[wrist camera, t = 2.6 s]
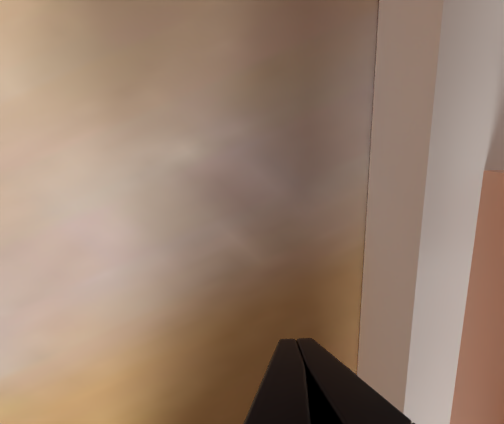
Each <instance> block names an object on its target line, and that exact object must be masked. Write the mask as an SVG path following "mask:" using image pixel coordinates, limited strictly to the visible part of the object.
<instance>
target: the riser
mask: <svg viewBox="0 0 504 424" xmlns="http://www.w3.org/2000/svg"><path fill="white" fill-rule="evenodd" d="M484 170H504V0H379V12H378V29H377V46H376V63H375V80H374V96H373V113H372V130H371V147H370V164H369V181H368V198H367V214H366V231H365V248H364V265H363V282H362V299H361V316H360V333H359V349H358V366H357V376H358V377H360V378H361V379H362V380H363V381H364V382H366V383H367V384H368V385H369V386H370V387H372V388H373V389H374V390H375V391H376V392H378V393H379V394H380V395H381V396H383V397H384V398H385V399H386V400H387V401H389V402H390V403H391V404H392V405H393V406H395V407H396V408H397V409H398V410H399V411H401V412H402V413H403V414H404V415H406V416H407V417H408V418H409V419H410V420H411V421H412V423H415V424H450V418H451V410H452V403H453V395H454V388H455V381H456V373H457V366H458V358H459V351H460V344H461V336H462V329H463V321H464V314H465V306H466V299H467V292H468V284H469V277H470V269H471V262H472V254H473V247H474V240H475V232H476V225H477V217H478V210H479V203H480V195H481V188H482V180H483V173H484Z"/></svg>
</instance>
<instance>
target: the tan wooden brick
mask: <svg viewBox="0 0 504 424" xmlns="http://www.w3.org/2000/svg"><path fill="white" fill-rule="evenodd" d="M450 424H504V170H484V173H483V180H482V188H481V195H480V203H479V210H478V217H477V225H476V232H475V240H474V247H473V254H472V262H471V269H470V277H469V284H468V292H467V299H466V306H465V314H464V321H463V329H462V336H461V344H460V351H459V358H458V366H457V373H456V381H455V388H454V395H453V403H452V410H451V418H450Z"/></svg>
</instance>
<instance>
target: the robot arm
mask: <svg viewBox="0 0 504 424" xmlns="http://www.w3.org/2000/svg"><path fill="white" fill-rule="evenodd" d="M243 424H415V423H412V421H411V420H410V419H409V418H408V417H407V416H406V415H404V414H403V413H402V412H401V411H399V410H398V409H397V408H396V407H395V406H393V405H392V404H391V403H390V402H389V401H387V400H386V399H385V398H384V397H383V396H381V395H380V394H379V393H378V392H376V391H375V390H374V389H373V388H372V387H370V386H369V385H368V384H367V383H366V382H364V381H363V380H362V379H361V378H360V377H358V376H357V375H356V374H355V373H354V372H352V371H351V370H350V369H349V368H347V367H346V366H345V365H344V364H343V363H341V362H340V361H339V360H338V359H337V358H335V357H334V356H333V355H332V354H331V353H329V352H328V351H327V350H326V349H324V348H323V347H322V346H321V345H320V344H318V343H317V342H316V341H315V340H314V339H312V338H299V339H297V340H295V339H281V340H279V342H278V345H277V347H276V349H275V352H274V354H273V356H272V359H271V361H270V363H269V365H268V368H267V370H266V372H265V375H264V377H263V379H262V382H261V384H260V386H259V389H258V391H257V393H256V396H255V398H254V400H253V403H252V405H251V407H250V410H249V412H248V414H247V416H246V419H245V421H244V423H243Z"/></svg>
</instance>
